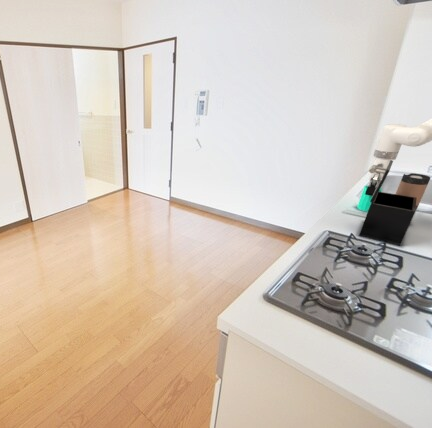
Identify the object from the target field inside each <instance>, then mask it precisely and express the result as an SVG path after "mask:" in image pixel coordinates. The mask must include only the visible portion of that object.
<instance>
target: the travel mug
mask: <svg viewBox="0 0 432 428" xmlns="http://www.w3.org/2000/svg"><path fill="white" fill-rule="evenodd" d="M430 181H431V176H430V175H425V174H421V173H416V172H415V173H414V172H413V173H409V174H405V173H403V175H402V177H401V180H400V181H399V184H398V186H397V189H396V191H395V194H397V195H403V196H410V197H416V198H417V200H416V210H417V209H418V207H419V206H420V203H421V202H422V199H423V196H424V194H425V192H426V190H427V188H428V185H429V183H430Z"/></svg>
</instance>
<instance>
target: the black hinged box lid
mask: <svg viewBox="0 0 432 428" xmlns="http://www.w3.org/2000/svg"><path fill="white" fill-rule="evenodd" d="M393 163H394V160H391V161H390V162H389V164H388V166H387V168H386V169H385V168H380V167H377V165H373V164H372V165H371V166H370V168H369V169H368V172H369V173H374V172H377V173H382V174H383V176H382V178H381V180H380V182H379V184H378V185H377V187H376V189H375V192H374V194H373V196H372V198H371V201H370V202H372V203H373V201H374V199H375V197H376V195H377V194H378V192H379V190H380V188H381V187H382V186H383V184H384V182H385V180H386V179H387V177H388V174H389V173H390V171H391V168H392V165H393ZM376 169H378V170H383V171H385V172H383V171H378V170H376ZM381 189H382V188H381Z"/></svg>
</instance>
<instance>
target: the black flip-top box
mask: <svg viewBox="0 0 432 428" xmlns="http://www.w3.org/2000/svg"><path fill="white" fill-rule="evenodd" d="M416 200H417V198H416V197H410V196H403V195H397V194H396V193H391V192H384V191H381V192H378V194H377V195H376V197H375V199H374V201H373V203H372V202H371V205H370V207H369V210H368V211H367V213H366V215H365V218H364V221H363V224H362V226H361V228H360V231H359V234H358V236H359V237H360V238H361V237H362V238H365V239H368V240H369V239H370V240H374V241H377V242H378V241H379V242H382V243H385V242H386V244H390V245H393V246H398V247H400V246H401V245H402V243H403V240H404V239H405V236H406V234H407V231H408V229H409V227H410V225H411V222H412V221H413V218H414V217H415V214H416V211H417V209H416Z"/></svg>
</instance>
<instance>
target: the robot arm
mask: <svg viewBox="0 0 432 428" xmlns="http://www.w3.org/2000/svg"><path fill="white" fill-rule="evenodd" d="M430 142H432V117H431V118H429V119H428V120H426V121H424V122H423V123H421V124H419V125H416V126H407V125H406V124H400V123H399V124H398V123H390V124H385V125H384V126H383V127H382V128H381V132H380V134H379V136H378V140H377V143H376V146H375V148H374V151H373V153H372V158H373V159H374V161H373V163H372V165H377V167H380V168H385V169H386V168H387V166H388V164H389V162H390V161H391V160H392V161H396V160H397V158H398V154H399V152H400V150H401V147H402V145H403V146H407V147H413V148H414V147H415V148H416V147H420V146H423V145H425V144H427V143H430ZM376 170H378V169H376ZM378 171H383V170H378ZM383 172H385V171H383ZM369 173H370V172H369ZM382 176H383V174H382V173H377V172H374V173H370V174H369V178H368V180H369V184H368V185H367V186H368V187H367V190H366V192H365V195H370V196H373V194H374V192H375V189H376V187H377V185H378V184H379V182H380V180H381V178H382Z"/></svg>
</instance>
